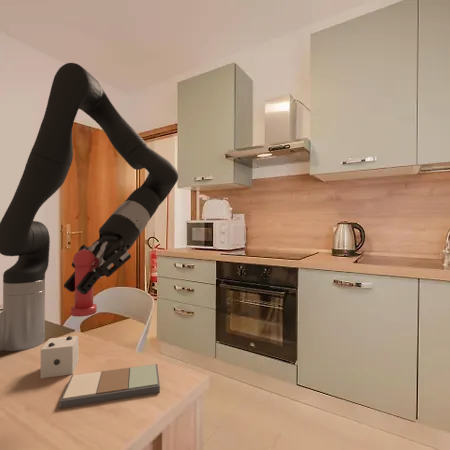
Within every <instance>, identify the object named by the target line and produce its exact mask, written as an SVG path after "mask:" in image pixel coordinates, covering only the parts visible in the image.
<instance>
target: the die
mask: <svg viewBox="0 0 450 450" xmlns="http://www.w3.org/2000/svg"><path fill="white" fill-rule="evenodd" d="M79 338H80V337H79V335H73V336H71V335H68V336H63V337H53V338H52V337H50V338H49V339H48V340H47V341H46V343H45V344H44V345H43V346H42V347H41V349H40V379H47V378H53V377H62V376H71V375H74V372H75V369H76V367H77V366H78V363H79V348H80V347H79V344H80V343H79V340H80V339H79Z"/></svg>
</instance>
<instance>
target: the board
mask: <svg viewBox="0 0 450 450" xmlns="http://www.w3.org/2000/svg"><path fill="white" fill-rule="evenodd" d="M70 376H71V377H70V379H69V381H68V382H67V385H66V387H65V389H64V391H63V394H62V397H61V398H60V399H59V409H63V408H71V407H77V406H82V405H83V406H84V405H88V404H95V403H96V404H97V403H101V402H106V401H108V402H109V401H114V400H119V399H126V398H133V397H139V396H146V395H151V394H156V393H158V394H159V393H161V390H160V389H161V388H160V387H161V386H160V375H159V369H158V364H157V363H154V364H146V365H139V366H132V367H125V368H117V369H109V370H102V371H95V372H87V373H79V374H78V373H77V374H71V375H70Z"/></svg>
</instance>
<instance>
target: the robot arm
mask: <svg viewBox="0 0 450 450" xmlns="http://www.w3.org/2000/svg"><path fill="white" fill-rule="evenodd" d="M51 83H52V84H51V87H50V91H49V96H48V99H47V104H46V108H45V111H44V115H43V118H42V121H41V123H40V127H39V130H38V132H37V135H36V138H35V140H34V143H33V146H32V147H31V150H30V153H29V155H28V158H27V160H26V164H25V167H24V170H23V173H22V175H21V178H20V180H19V183H18V185H17V187H16V189H15V192H14V195H13V197H12V199H11V201H10V203H9V205H8V207H7V209H6V210H5V212H4V215H3V216H2V218H1V220H0V255H2V256H5V257H17V260H16V262H15V263H14V264H13V265H12V266H10V267H9V268H7V269H6V270H5V271H4V272H3V273H2V274H3V275H2V311H1V312H0V351H5V352H17V351H18V352H19V351H25V350H30V349H33V348H36V347H38V346H40V345H42V344H44V342H45V338H46V332H45V331H46V330H45V329H46V309H45V308H46V272H47V270H48V268H49V261H50V248H51V247H50V246H51V245H50V244H51V241H50V233H49V230H48V227H46V225H45V224H44V223H43V222H41V221H37V220H34V219H35V217H36V215H37V213H38V211H39V210H40V208H41V207H42V206H43V205H44V204H45V203H46V201H48V199H50V198H51V197H52V196H53V195H54V194H55V193H56V192H57V191H58V190H59V189H60V188H61V187H62V186H63V184H64V183H65V181H66V178H67V176H68V174H69V172H70V169H71V166H72V163H73V160H74V159H73V158H74V144H73V127H74V122H75V119H76V118H77V114H78V112H79V110H81V112H84V113H85V114H86V115H88V116H89V117H90V118H91V119H92V120H93V121H94V122H96V123H97V124H98V125H99V126H100V128H101V129H102V131H103V132H104V133H105V135H106V136H107V138H108V140H109V142H110V143H111V145H112V146H113V148H114V149H115V150H116V151H117V152H118V154H119V155H120V156H121V157H122V158H123V160H125V162H126V163H127V164H128V165H129V167H131V168H133V170H137V171H139V170H142V169H145V170H146V171H147V172H148V174H147V177H146V178H145V179H144V182H143V183H142V185H141V186H140V187H137V188H136V189H134V190H133V191H132V192H131V193H130V194H129V196H128V197H127V198H126V199H125V201H123V203H122V204H120V205H119V206H118V207H117V208H116V209H115V210H114V212H112V213H111V215H110V216H109V217H108V218H107V219H106V221H104V223H103V224H102V225H101V226H100V227H99V229H98V234H99V238H98V239H97V240H95V241H94V242H93V243H92V245H89V246H86V245H85V244H82V245H81V246H80V247H79V249H78V251H80V250H89V251H91V252H92V253H93V254H94V256H95V262H94V264H93V266H92V268H91V270H90V271H91V272H88V273H87V274H86V275H85V277H84V278H83V279H82V280H81V282H80V283H79V284H78V285H77V287H76V289H77V290H78V291H79V292H80V293H81V294H87V293H88V291H89V290H90V289H91V288H92V287H93V288H94V286H95V285H96V283H97V282H98V280H100V279H102V278H103V277H106V278H110V276H112V275H113V274H114V273H115V272H117V271H118V270H119V268H121V267H122V266H124V264H125V263H126V262H128V261H129V260H130V259H131V258H132V255H131V254H130V253H129V250H131V248H132V246H134V244H135V243H136V241H137V240H138V238H139V237H140V235H141V234H142V233H143V232H144V230H145V229H146V227H147V225H148V223H149V221H150V220H151V219H152V217H153V215H154V214H155V213H156V212H157V210H158V208H159V206H161V204H162V203H163V202H164V201H165V199H166V198H167V197H168V195H170V193H171V192H172V190H173V188H174V187H175V185H176V184H177V182H178V180H179V172H178V171H177V169H176V167H175V165H174V164H173V163H172V162H171V161H170V160H168V159H167V158H165V157H164V156H163V155H161V154H159V153H158V152H156V151H155V150H154V149H153V148H151V147H150V146H149V144H148V143H146V141H145V140H144V139H143V137H142V136H140V134H139V133H138V132H137V131H136V130H135V129H134V128H133V127H132V126H131V125H130V124H129V123H128V121H126V119H124V118H123V117H122V115H121V114H120V113H119V111H118V110H117V109H116V108H115V106H114V104H113V103H112V102H111V100H110V98H109V96H108V95H107V94H106V92H105V91H104V89H103V86H102V85H101V83H100V82H99V81H98V80H97V79H96V78H95V77H94V76H93V75H92V74H91V73H90V72H89V71H87V69H86V68H84V67H83V66H82V65H80V64H79V63H75V62H67V63H65V64H63V65H61V66H60V67H59V68H58V69H57V71H56V72H55V74H54V77H53V79H52V82H51ZM71 267H72V268H73V269H75V265H74V262H73V261H72V263H71ZM63 287H64V288H65V289H66V290H67V291H68V292H70V293H71V292H72V293H75V271H73V273H72V274H71V275H70V277H69V278H68V279H67V280H66V281H65V283H64V284H63Z"/></svg>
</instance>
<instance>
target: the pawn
mask: <svg viewBox="0 0 450 450" xmlns="http://www.w3.org/2000/svg"><path fill="white" fill-rule="evenodd" d="M73 262H74V265H75V268H74V272H75V291H74V305H73V306H71V308H70V313H71V314H70V315H71V316H72V317H75V318H76V317H78V318H79V317H80V318H81V317H88V316H91V315H94V314H97V308H98V307H97V306H98V305H97V304H96V303H94V286H93V287H92V288H91V289H90V290H89V291H88V293H87V294H81V293H80V292H79V291H78V290H77V289H76V287H77V285H78V284H79V283H80V282H81V280H82V279H83V278H84V277H85V275H86V274H87V273H88V272H91V271H90V270H91V268H92V266H93V264H94V263H95V256H94V254H93V253H92V252H91V251H89V250H80V251H79V250H77V252H75V254H74V255H73V259H72V263H73Z"/></svg>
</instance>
